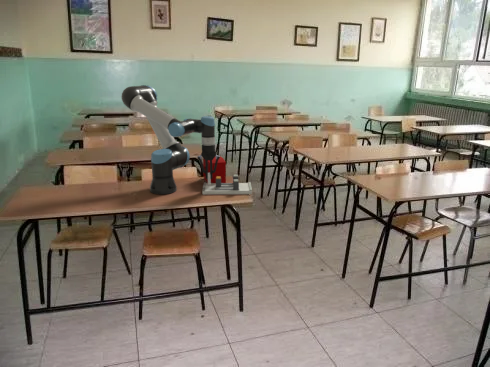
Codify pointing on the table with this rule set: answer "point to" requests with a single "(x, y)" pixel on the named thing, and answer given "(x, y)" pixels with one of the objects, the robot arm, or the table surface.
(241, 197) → the table surface
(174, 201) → the table surface
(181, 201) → the table surface
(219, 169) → the red rectangular box
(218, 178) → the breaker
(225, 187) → the white slider panel
